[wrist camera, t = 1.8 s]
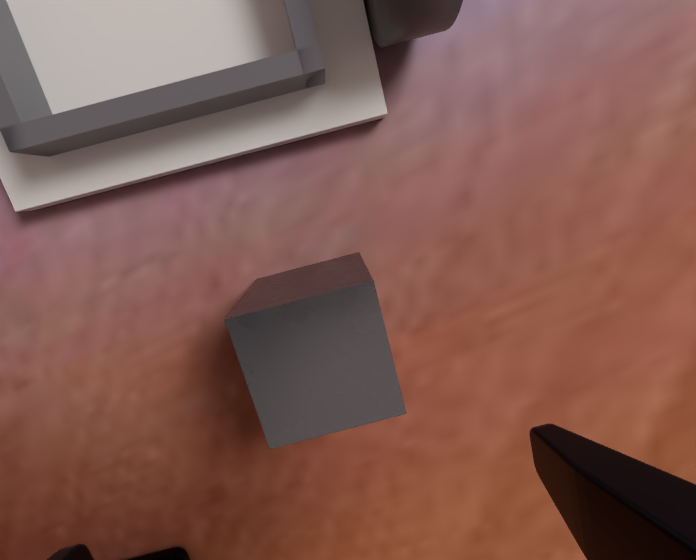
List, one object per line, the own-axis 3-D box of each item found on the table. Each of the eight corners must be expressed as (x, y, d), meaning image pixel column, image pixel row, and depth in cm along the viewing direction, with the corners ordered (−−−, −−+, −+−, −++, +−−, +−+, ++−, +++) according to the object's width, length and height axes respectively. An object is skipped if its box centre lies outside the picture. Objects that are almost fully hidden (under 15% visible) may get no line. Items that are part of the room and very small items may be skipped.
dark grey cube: (287, 371, 20) (269, 449, 14) (257, 278, 18) (224, 319, 13) (382, 347, 20) (406, 413, 14) (358, 251, 18) (373, 280, 13)
